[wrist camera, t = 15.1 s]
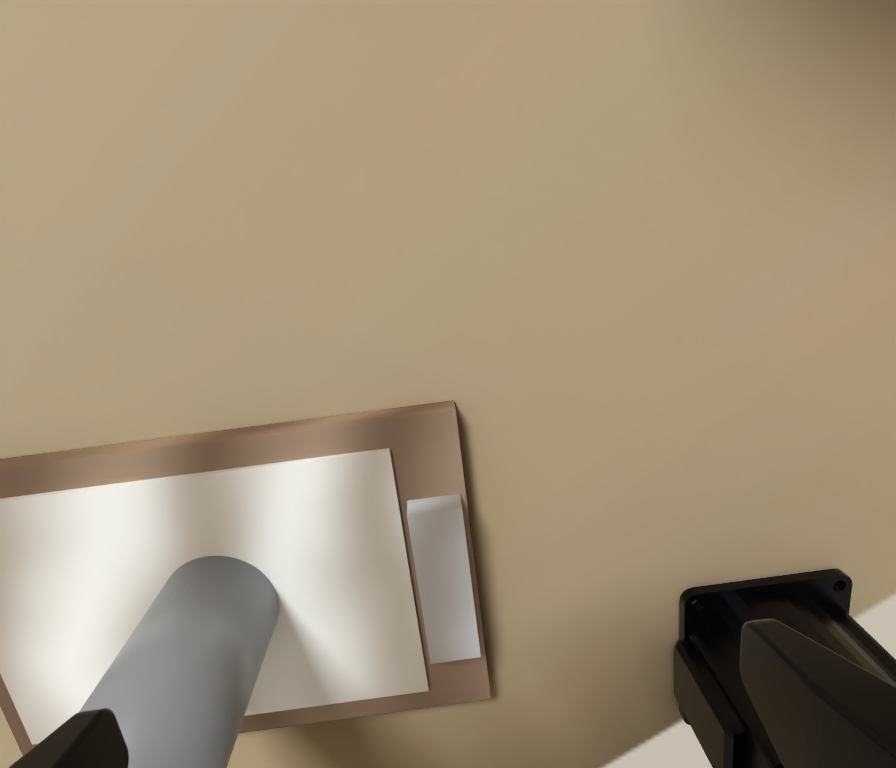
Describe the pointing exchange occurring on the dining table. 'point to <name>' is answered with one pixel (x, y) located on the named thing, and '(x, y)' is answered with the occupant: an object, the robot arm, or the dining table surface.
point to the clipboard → (250, 562)
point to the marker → (191, 665)
